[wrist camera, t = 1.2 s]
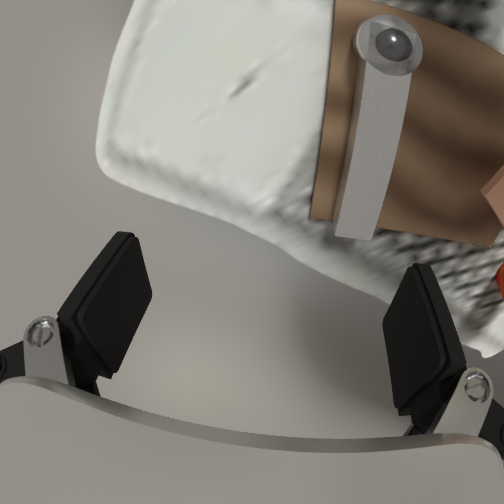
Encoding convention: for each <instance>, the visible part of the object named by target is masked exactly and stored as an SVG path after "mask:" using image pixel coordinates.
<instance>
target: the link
mask: <svg viewBox="0 0 504 504" xmlns="http://www.w3.org/2000/svg"><path fill="white" fill-rule="evenodd" d="M352 43H353V48H354V51H355V54H356V55H357V57H358V58H359V63H358V71H357V80H356V88H355V95H354V102H353V109H352V116H351V122H350V129H349V135H348V141H347V147H346V152H345V158H344V163H343V169H342V174H341V179H340V184H339V189H338V194H337V199H336V204H335V208H334V213H333V218H332V220H333V227H334V235H335V236H339V237H347V238H354V239H361V240H368V241H371V240H372V237H373V234H374V230H375V227H376V224H377V221H378V218H379V215H380V211H381V208H382V205H383V201H384V198H385V194H386V191H387V187H388V183H389V180H390V176H391V172H392V168H393V164H394V160H395V156H396V152H397V148H398V143H399V139H400V134H401V130H402V125H403V120H404V115H405V110H406V104H407V99H408V93H409V87H410V81H411V74H412V72H413V71H414V70H415V69H416V68H417V67H418V65H419V64H420V62H421V59H422V55H423V46H422V42H421V39H420V37H419V35H418V33H417V32H416V30H415V29H414V28H413V27H412V26H411V25H410V24H409V23H408V22H407V21H405V20H403V19H401V18H399V17H397V16H394V15H387V14H383V15H377V16H374V17H372V18H369V19H367V20H365V21H363V22H362V23H360V24H359V25H358V26H357V27H356V29H355V31H354V33H353V38H352Z"/></svg>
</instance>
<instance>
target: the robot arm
mask: <svg viewBox="0 0 504 504" xmlns="http://www.w3.org/2000/svg"><path fill="white" fill-rule="evenodd" d="M151 298H152V290H151V286H150V283H149V279H148V275H147V271H146V267H145V263H144V259H143V255H142V251H141V247H140V243H139V239H138V238H137V237H135V235H134V234H133V233H130V232H121V231H119V232H117V233H115V235H114V236H113V237H112V239H111V240H110V241H109V242H108V244H107V245H106V246H105V247H104V249H103V250H102V251H101V253H100V254H99V255H98V257H97V258H96V259H95V260H94V262H93V263H92V264H91V266H90V267H89V268H88V270H87V271H86V272H85V274H84V275H83V276H82V278H81V279H80V281H79V282H78V283H77V285H76V286H75V288H74V289H73V291H72V292H71V293H70V295H69V296H68V298H67V299H66V301H65V302H64V304H63V305H62V307H61V308H60V310H59V312H58V313H57V315H58V318H57V319H56V320H55V319H54V318H53V317H50V316H42V317H39V318H37V319H35V320H33V321H32V322H31V323H30V324H29V325H28V327H27V328H26V330H25V333H24V338H23V341H21V342H19V343H17V344H14V345H12V346H10V347H8V348H6V349H3V350H1V351H0V504H504V408H503V407H502V406H501V405H500V404H498V403H497V402H496V401H495V400H494V399H493V385H492V382H491V379H490V378H489V376H488V375H487V374H486V373H485V372H484V371H483V370H481V369H479V368H469V369H467V368H466V360H465V356H464V352H463V349H462V346H461V343H460V340H459V337H458V334H457V331H456V328H455V325H454V322H453V320H452V317H451V314H450V312H449V309H448V306H447V304H446V301H445V299H444V296H443V294H442V291H441V289H440V287H439V284H438V282H437V279H436V277H435V275H434V273H433V270H432V268H431V266H430V265H427V264H419V263H414V264H413V265H412V267H408V268H407V270H406V273H405V275H404V277H403V279H402V281H401V284H400V286H399V288H398V290H397V292H396V294H395V296H394V298H393V301H392V303H391V305H390V307H389V309H388V311H387V313H386V315H385V317H384V319H383V331H384V337H385V343H386V349H387V355H388V362H389V369H390V376H391V384H392V392H393V400H394V406H395V408H397V409H398V413H399V416H405V415H411V419H412V423H411V424H410V426H409V427H408V429H407V431H406V432H405V433H404V435H403V436H401V437H385V438H362V439H319V438H299V437H285V436H284V437H283V436H273V435H264V434H255V433H247V432H240V431H233V430H227V429H221V428H216V427H210V426H205V425H200V424H195V423H191V422H186V421H182V420H177V419H173V418H169V417H165V416H161V415H158V414H154V413H150V412H147V411H143V410H140V409H137V408H133V407H130V406H127V405H124V404H121V403H118V402H115V401H111V400H109V399H106V398H102V397H101V396H100V393H99V390H98V386H97V383H96V379H97V377H98V375H99V376H102V377H105V378H108V379H111V378H112V375H113V373H116V372H117V371H118V370H119V368H120V365H121V363H122V361H123V359H124V356H125V354H126V352H127V350H128V348H129V345H130V343H131V341H132V339H133V336H134V334H135V332H136V330H137V328H138V326H139V324H140V322H141V320H142V318H143V316H144V314H145V311H146V309H147V307H148V305H149V303H150V301H151Z"/></svg>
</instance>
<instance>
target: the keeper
mask: <svg viewBox="0 0 504 504" xmlns="http://www.w3.org/2000/svg"><path fill="white" fill-rule="evenodd" d="M480 191H481V193H482V194H483V195H484V197H485V198H486V200H487V201H488V203H489V205H490V206H491V208H492V209H493V211H494V212H495V214H496V216H497V217H498V219H499V221H500V222H501V224H502V226H503V227H504V165H503V166H502V167H501V168H500V170H499V171H498V172H497V173H496V174H495V175H494V176H493V177H492V178H491V179H490V180H489V181H488V182H487V184H486V185H485V186H484V187H483V188H482V189H481V190H480Z"/></svg>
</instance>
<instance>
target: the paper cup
mask: <svg viewBox="0 0 504 504" xmlns="http://www.w3.org/2000/svg"><path fill="white" fill-rule="evenodd" d="M496 281H497V284H498V286H499V289H500V291H501V294H502V296H503V299H504V263H503V264H502V265H501V267H500V268H499V270H498V272H497V274H496Z"/></svg>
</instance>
